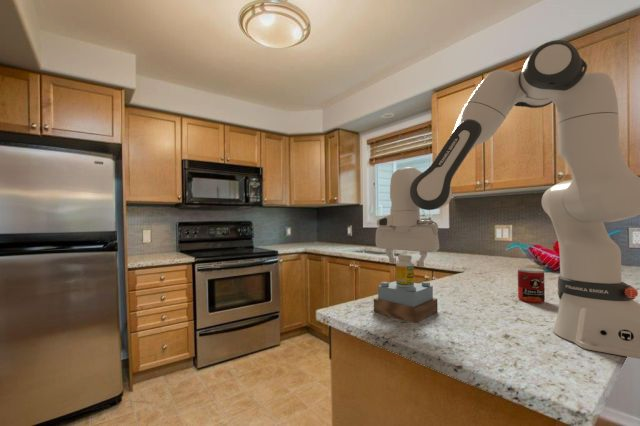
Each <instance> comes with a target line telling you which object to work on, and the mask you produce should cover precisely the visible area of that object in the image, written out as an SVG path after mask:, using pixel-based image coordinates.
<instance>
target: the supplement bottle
mask: <svg viewBox="0 0 640 426" xmlns="http://www.w3.org/2000/svg"><path fill="white" fill-rule="evenodd" d="M412 257H413V256H412V254H407V253H404V254H402V253H401V254H398V255H397V259H398V261H396V263H395V271H396V272H395V273H396V274H395V276H396V278H395V279H396V280H395V281H396V284H397V286H399V287H405V288H407V287H413V286H414V283H415V264H414V262H413V261H412Z"/></svg>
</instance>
